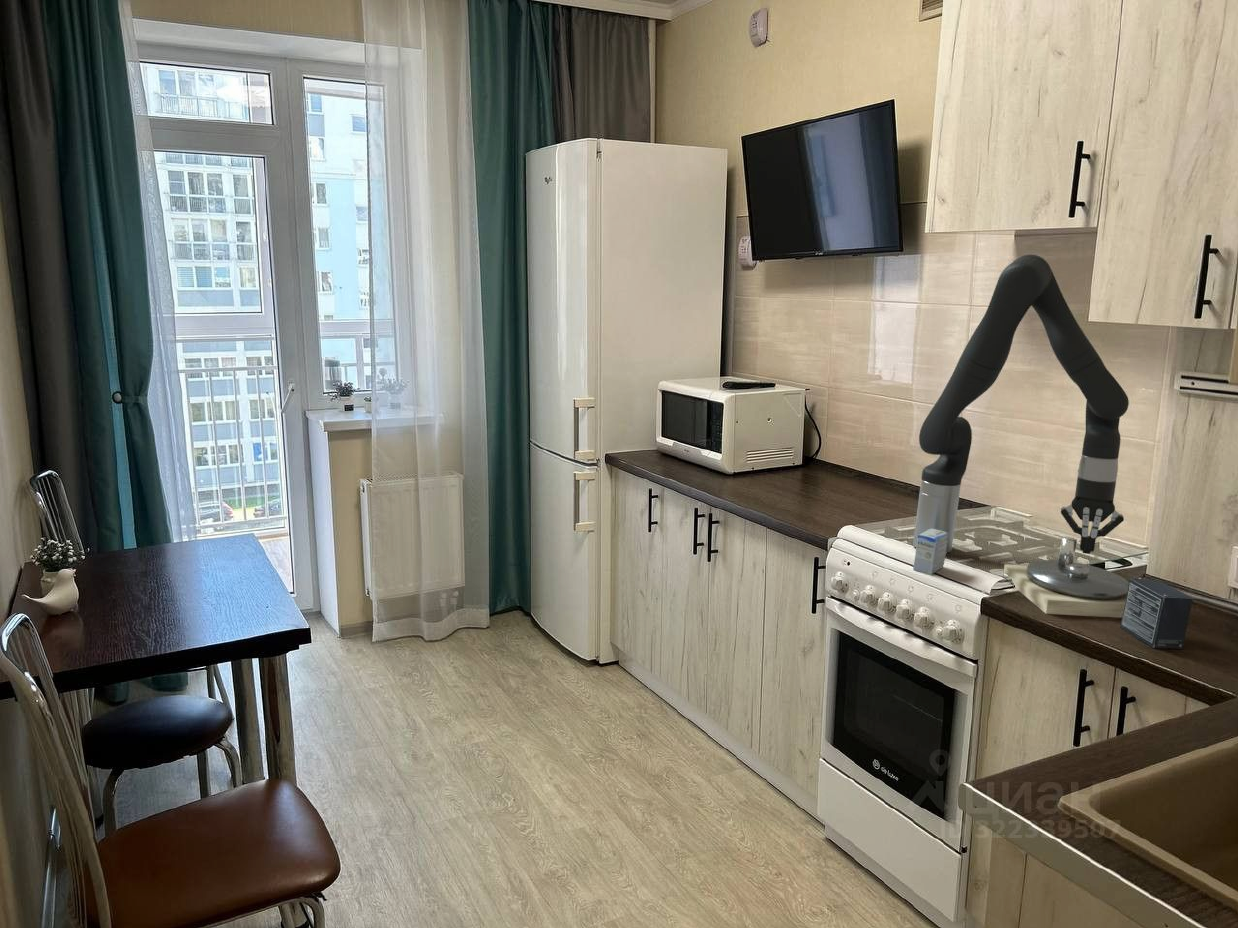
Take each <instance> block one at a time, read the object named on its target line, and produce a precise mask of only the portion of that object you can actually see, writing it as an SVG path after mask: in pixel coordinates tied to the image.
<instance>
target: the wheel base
mask: <svg viewBox="0 0 1238 928" xmlns="http://www.w3.org/2000/svg"><path fill="white" fill-rule="evenodd" d="M1027 566H1028V565H1024V564H1023V565H1022V564H1004V566H1003V572H1004V573H1005V574H1007V575H1008V576H1009V577H1010V578H1011V579H1012V581H1013V583H1014V585H1015V587H1014V588H1015V589H1016V590H1017V591H1018V592H1020V593H1021V594H1022V595H1023V596H1025V597H1026V598H1027V599H1028V600H1029V601H1030V602H1031V603H1032V604H1034V605H1035V606H1036V607H1037V608H1039V610H1041V611H1042V612H1043V613H1044V614H1046V615H1059V616H1060V615H1065V616H1078V617H1079V616H1081V617H1083V616H1085V617H1098V618H1099V617H1101V618H1118V619H1120V618H1121V619H1122V617H1123V612H1124V607H1125V602H1126V597H1127V596H1125V597H1123V598H1118V599H1092V598H1084V597H1078V596H1072V595H1068V594H1064V593H1060V592H1056V591H1053V590H1050V589H1047V588H1045V587H1042V586H1040V585H1038V584H1036V583H1034V582H1033V581H1031V580H1030V579H1029V578H1028V577H1027V575H1026V571H1027Z"/></svg>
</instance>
